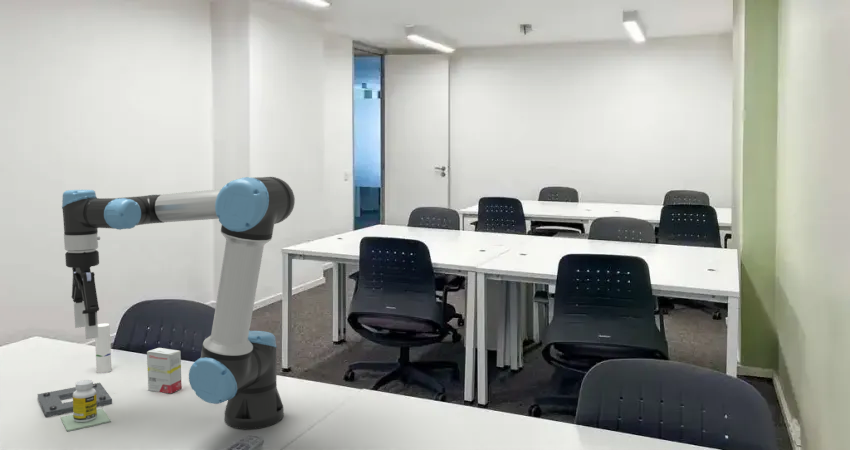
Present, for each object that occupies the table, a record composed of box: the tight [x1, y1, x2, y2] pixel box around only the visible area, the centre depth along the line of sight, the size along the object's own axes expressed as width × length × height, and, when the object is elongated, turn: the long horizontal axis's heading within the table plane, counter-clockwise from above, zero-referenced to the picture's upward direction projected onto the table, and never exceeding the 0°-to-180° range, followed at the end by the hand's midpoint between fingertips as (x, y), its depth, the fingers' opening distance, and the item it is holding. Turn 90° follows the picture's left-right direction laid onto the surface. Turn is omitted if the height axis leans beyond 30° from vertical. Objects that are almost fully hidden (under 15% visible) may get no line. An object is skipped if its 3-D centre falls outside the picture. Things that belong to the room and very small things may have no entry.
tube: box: [94, 322, 113, 374], centre depth 204 cm, size 4×4×15 cm
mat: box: [60, 408, 112, 432], centre depth 167 cm, size 10×10×1 cm
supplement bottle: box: [72, 379, 98, 422], centre depth 166 cm, size 5×5×10 cm
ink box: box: [146, 347, 182, 394], centre depth 189 cm, size 9×5×12 cm, turn 70°
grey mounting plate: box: [37, 382, 113, 418], centre depth 179 cm, size 16×16×2 cm
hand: (86, 332), depth 165 cm, fingers open, 13 cm apart
